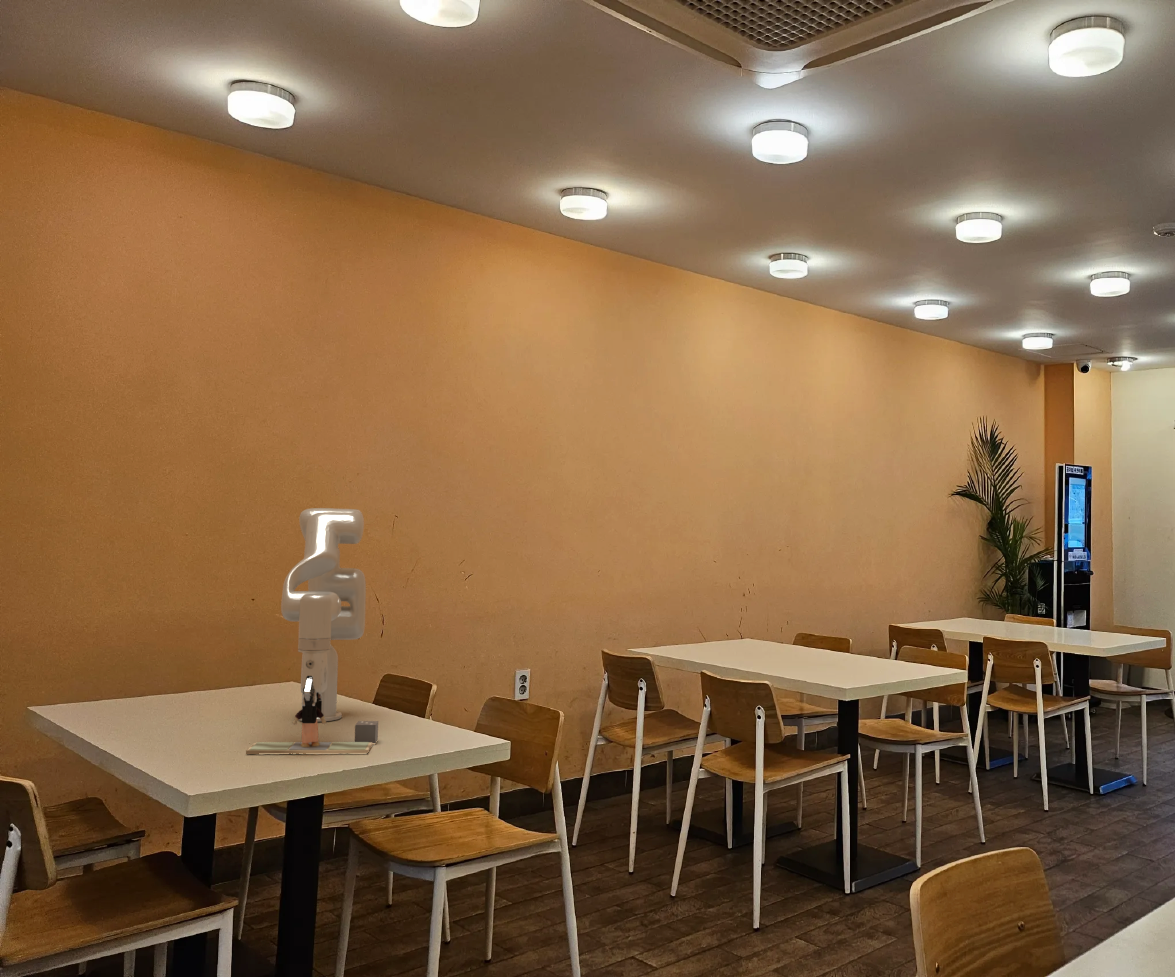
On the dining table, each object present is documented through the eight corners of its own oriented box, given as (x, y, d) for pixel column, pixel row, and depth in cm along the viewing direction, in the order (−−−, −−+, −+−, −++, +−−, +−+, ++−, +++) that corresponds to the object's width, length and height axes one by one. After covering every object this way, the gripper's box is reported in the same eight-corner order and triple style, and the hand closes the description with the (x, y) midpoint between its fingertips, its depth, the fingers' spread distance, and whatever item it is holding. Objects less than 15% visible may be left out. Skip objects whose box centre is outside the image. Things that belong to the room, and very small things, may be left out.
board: (254, 746, 232) (255, 741, 232) (372, 746, 235) (372, 741, 235) (245, 755, 223) (246, 749, 223) (367, 754, 226) (367, 749, 226)
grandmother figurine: (320, 742, 233) (322, 690, 234) (326, 745, 230) (328, 692, 230) (289, 746, 228) (291, 692, 229) (295, 749, 225) (297, 694, 226)
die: (357, 741, 242) (358, 720, 242) (377, 741, 242) (378, 720, 243) (354, 745, 237) (355, 724, 237) (374, 745, 237) (375, 724, 238)
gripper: (324, 649, 223) (321, 727, 222) (335, 641, 240) (333, 713, 239) (291, 649, 222) (288, 727, 221) (305, 641, 239) (302, 713, 238)
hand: (311, 719), depth 230 cm, fingers open, 6 cm apart
